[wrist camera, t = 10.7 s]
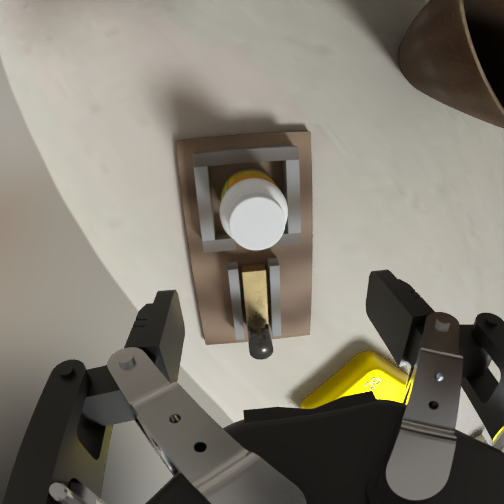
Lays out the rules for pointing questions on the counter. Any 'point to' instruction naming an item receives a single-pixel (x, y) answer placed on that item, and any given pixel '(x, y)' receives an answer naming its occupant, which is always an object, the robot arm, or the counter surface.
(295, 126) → the counter surface
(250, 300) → the locking bolt
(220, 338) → the docking base
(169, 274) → the counter surface
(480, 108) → the plant pot
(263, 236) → the supplement bottle
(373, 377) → the element tile
